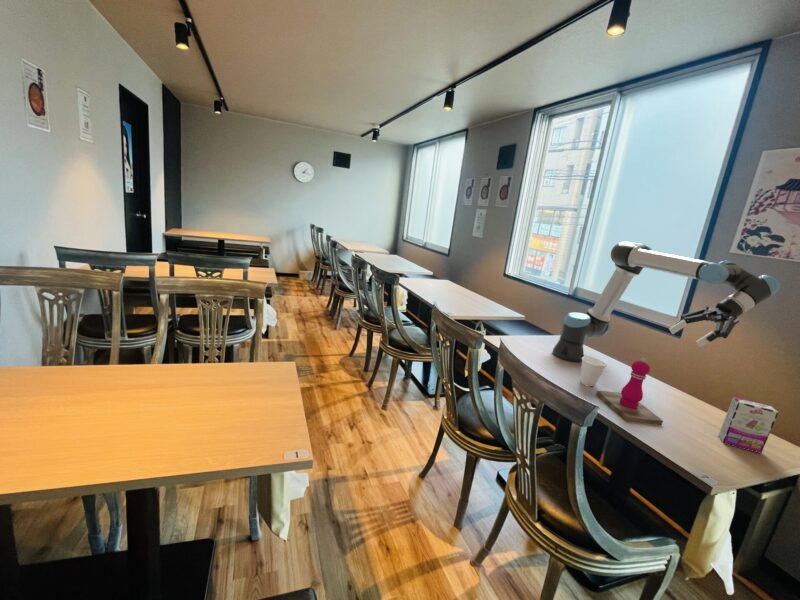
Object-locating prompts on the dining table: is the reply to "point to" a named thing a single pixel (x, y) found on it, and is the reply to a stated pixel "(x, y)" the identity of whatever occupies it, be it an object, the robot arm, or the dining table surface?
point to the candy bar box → (747, 424)
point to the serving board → (629, 409)
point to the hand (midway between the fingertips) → (683, 337)
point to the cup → (591, 370)
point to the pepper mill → (635, 385)
